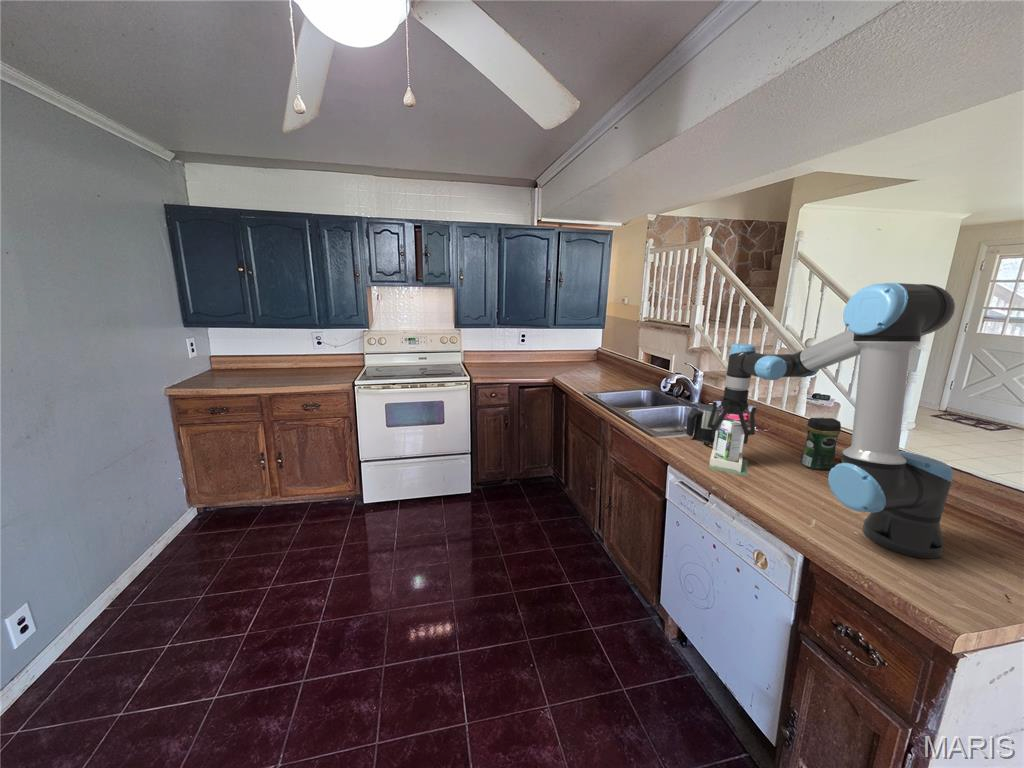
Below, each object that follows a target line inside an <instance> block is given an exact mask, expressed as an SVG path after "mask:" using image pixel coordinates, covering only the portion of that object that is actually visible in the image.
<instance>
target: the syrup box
mask: <svg viewBox="0 0 1024 768" xmlns="http://www.w3.org/2000/svg"><path fill="white" fill-rule="evenodd" d="M717 429H718V436H717V443H716V450H715V457H718V458H720V459H721V460H726V461H736V460H738V457H739V451H740V445H741V438H742V433H744V431H743V427H742V424H741V421H740V420H737V419H734V418H732V417H731V418H730V417H729V418H725V417H724V419H723V420H722V422H721V423H720V424H719V426H718V428H717Z"/></svg>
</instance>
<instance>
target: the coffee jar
mask: <svg viewBox="0 0 1024 768" xmlns="http://www.w3.org/2000/svg"><path fill="white" fill-rule="evenodd" d="M841 427H842V424H841V421H840V420H837V419H836V418H832V417H810V418H809V419H808V421H807V424H806V429H807V437H806V441H805V444H804V448H803V451H802V454H801V458H800V463H801V464H802V466H803V467H806V468H810V469H811V470H817V471H830V470H831V469H832V468H834V467H835V462H836V461H835V457H836V448H837V447H836V446H837V440H838V437H839V435H840V434H841V430H842V429H841Z"/></svg>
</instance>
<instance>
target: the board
mask: <svg viewBox="0 0 1024 768" xmlns="http://www.w3.org/2000/svg"><path fill="white" fill-rule="evenodd" d="M748 464H749V462H748V459H743V458H742V467H741V472H736V471H731V470H726V469H721V468H716V467H711V466H709V465H708V469H711V470H716V471H721V472H724V473H725V472H726V473H730V474H735V475H740V476H745V477H747V476H748Z"/></svg>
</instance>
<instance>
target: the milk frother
mask: <svg viewBox="0 0 1024 768" xmlns="http://www.w3.org/2000/svg"><path fill="white" fill-rule="evenodd" d="M712 410H713V404H712V405H711V404H703V403H702V404H698V405H697V409H695V410H694V409H693V410H692V411H690V412H689V413H688V415H687V416H686V417H687V418H686V435H687V436H689V437H692V438H693V439H692V440H694V441H697V442H702V443H706V444H708V445H710V446H712V447H713V444H714V440H715V438H712V437H711V436H712V429H711V428H709V427H708V426H707V425H708V422H709V419H710V416H711V413H712ZM721 410H722V408H721V407H720V406H719V407H717V410H716V413H715V416H714V419H713V422H712V424H713V425H714V424H715V423H716V421H717V420H718V418H719V417H720V415H721ZM695 419H696V421H695Z"/></svg>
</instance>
